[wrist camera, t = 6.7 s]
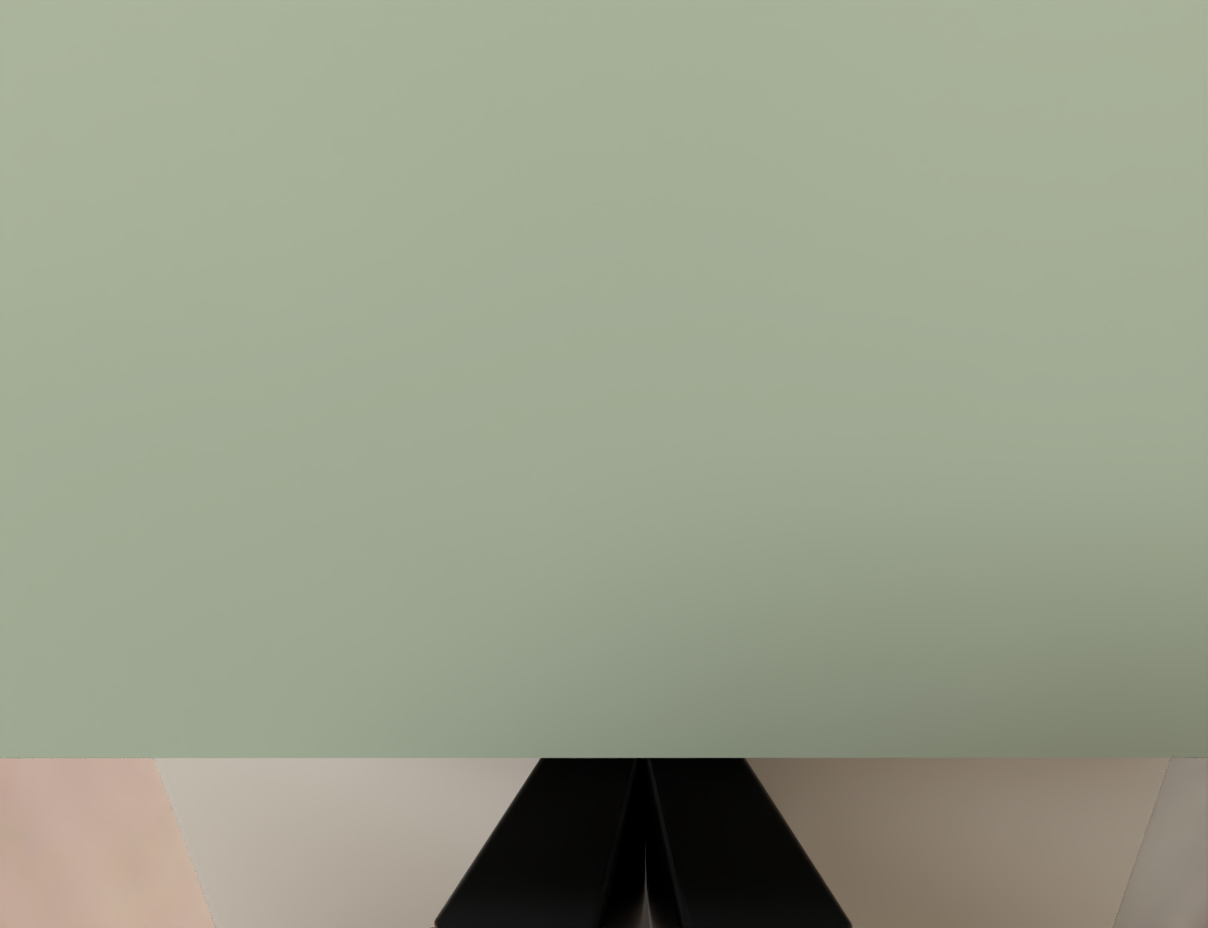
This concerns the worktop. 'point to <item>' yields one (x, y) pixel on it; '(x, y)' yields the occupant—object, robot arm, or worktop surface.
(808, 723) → the green block
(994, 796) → the board
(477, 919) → the robot arm
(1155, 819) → the worktop surface
